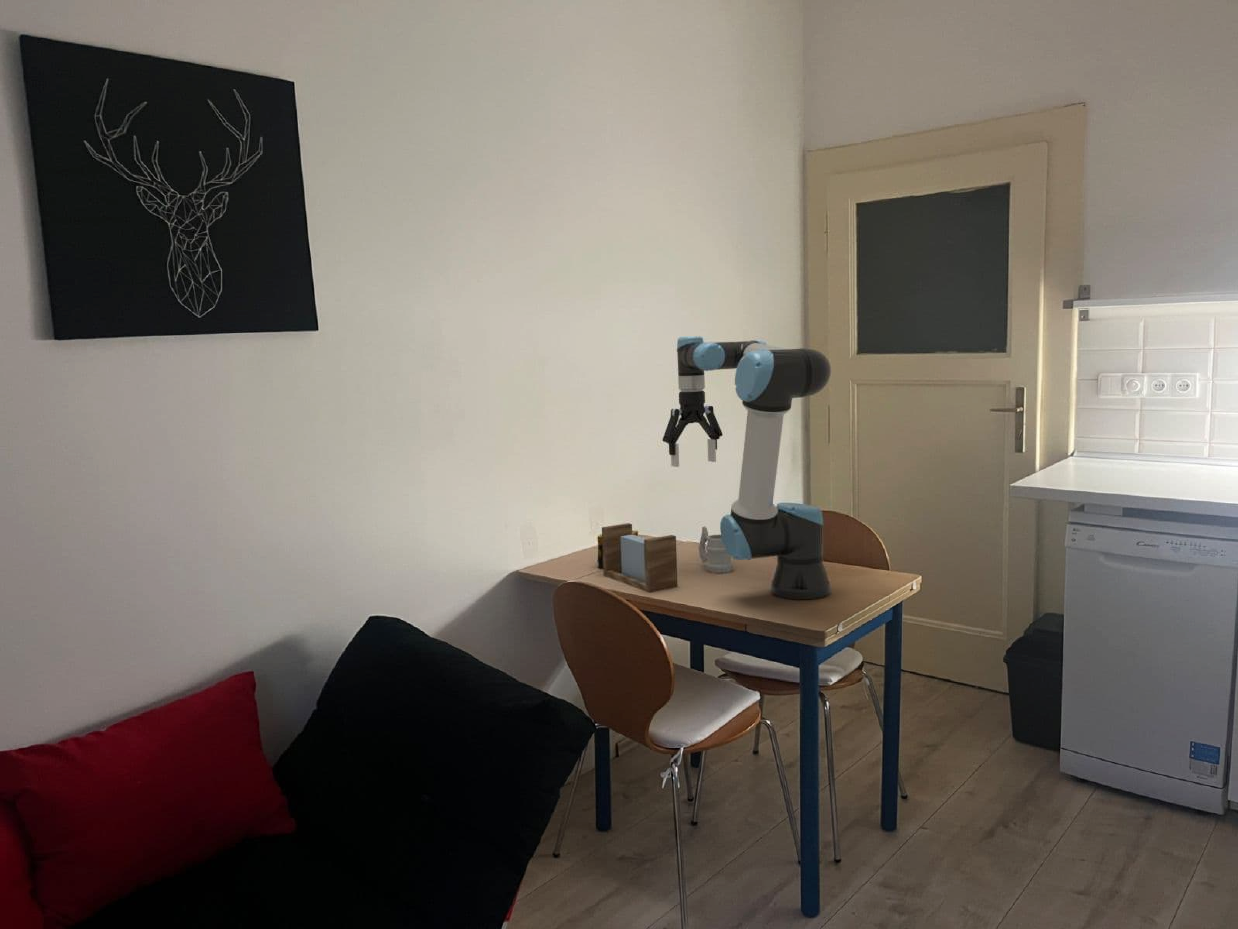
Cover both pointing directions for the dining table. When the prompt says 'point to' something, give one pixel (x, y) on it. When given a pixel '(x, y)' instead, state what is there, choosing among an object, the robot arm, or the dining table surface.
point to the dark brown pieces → (600, 549)
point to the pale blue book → (633, 557)
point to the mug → (714, 553)
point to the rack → (656, 559)
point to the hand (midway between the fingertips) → (693, 464)
